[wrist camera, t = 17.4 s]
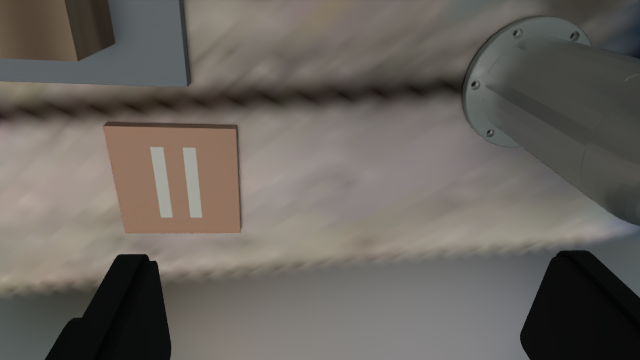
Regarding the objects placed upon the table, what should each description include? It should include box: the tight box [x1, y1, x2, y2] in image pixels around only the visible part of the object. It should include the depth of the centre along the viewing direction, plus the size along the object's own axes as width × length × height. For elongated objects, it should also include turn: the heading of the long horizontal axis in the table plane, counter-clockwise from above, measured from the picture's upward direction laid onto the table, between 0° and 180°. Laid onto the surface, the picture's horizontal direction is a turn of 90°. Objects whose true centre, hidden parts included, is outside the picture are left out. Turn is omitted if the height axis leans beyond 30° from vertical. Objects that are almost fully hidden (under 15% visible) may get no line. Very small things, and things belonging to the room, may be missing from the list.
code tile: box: [103, 122, 241, 233], centre depth 41 cm, size 12×12×1 cm
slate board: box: [0, 0, 191, 87], centre depth 32 cm, size 16×12×2 cm
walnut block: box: [0, 0, 115, 62], centre depth 29 cm, size 5×5×7 cm
